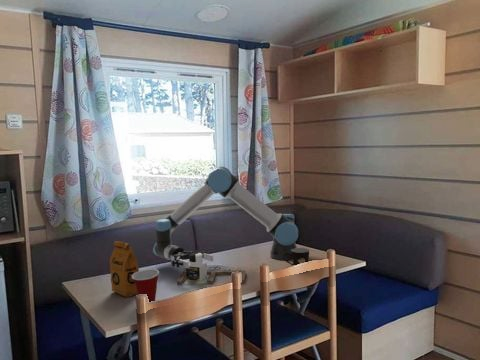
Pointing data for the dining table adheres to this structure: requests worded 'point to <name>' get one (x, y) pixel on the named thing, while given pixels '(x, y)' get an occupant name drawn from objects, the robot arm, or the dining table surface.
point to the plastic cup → (146, 282)
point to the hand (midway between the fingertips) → (200, 261)
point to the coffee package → (123, 269)
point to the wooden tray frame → (211, 278)
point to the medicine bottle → (196, 268)
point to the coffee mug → (298, 255)
